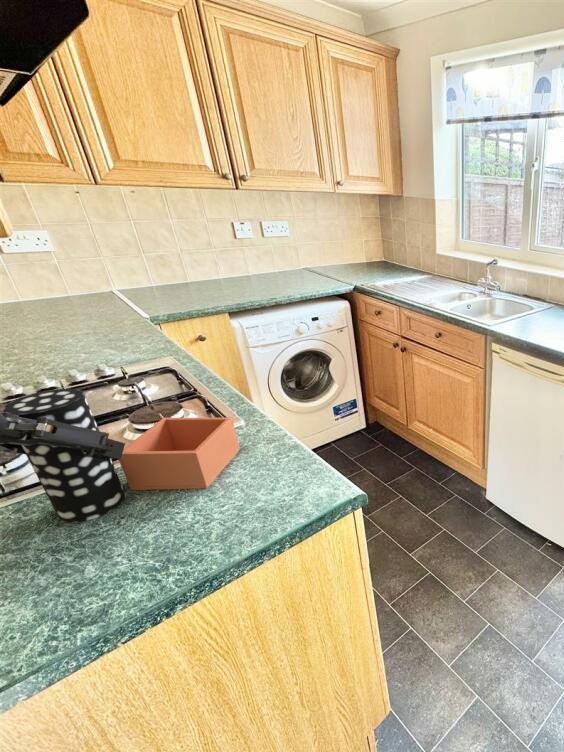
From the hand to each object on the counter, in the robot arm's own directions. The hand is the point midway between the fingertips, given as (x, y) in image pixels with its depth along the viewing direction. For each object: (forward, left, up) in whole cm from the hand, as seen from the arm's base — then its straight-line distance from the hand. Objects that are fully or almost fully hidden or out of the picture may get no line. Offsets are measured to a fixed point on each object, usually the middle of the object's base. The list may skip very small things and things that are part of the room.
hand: (90, 451), depth 70 cm
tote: (+8, +9, -9) cm, 15 cm away
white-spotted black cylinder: (+1, -3, -9) cm, 9 cm away
